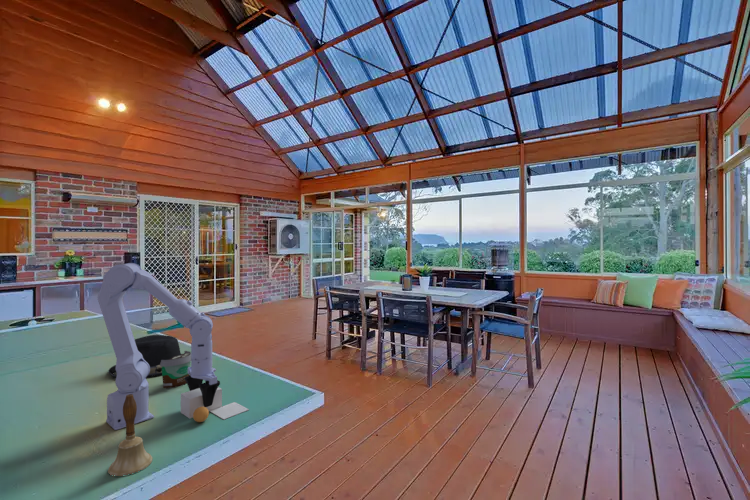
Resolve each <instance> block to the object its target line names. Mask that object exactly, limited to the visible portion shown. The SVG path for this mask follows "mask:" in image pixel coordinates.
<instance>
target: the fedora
mask: <svg viewBox="0 0 750 500" xmlns="http://www.w3.org/2000/svg"><path fill="white" fill-rule="evenodd" d="M134 340H135V343H136V346H137V349H138V351H139V352H140V353H141V354H142V356H143V359H144V360H145V361H146V362H147V363H148V364H149V366H150V372H149V374H148V376H147V377H146V378H151V377H156V376H160V375H162V366H160V363H161V360H169V359H171V358H172V357H174V356H179V355H182V354H183V353H181V350H180V349H181V348H180V345H179V340H178V338H176V337H175V336H171V335H165V334H163V335H162V334H151V335H146V336H142V337H138V338H136V339H135V338H134ZM114 372H115V373H117V372H116V364H115V365H113V366H111V367H110V368H109V369H108V373H109V374H110V376H112V377H113V378H115V379H116V377H117V374H115V373H114ZM113 373H114V374H113Z"/></svg>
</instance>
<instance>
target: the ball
mask: <svg viewBox="0 0 750 500" xmlns="http://www.w3.org/2000/svg"><path fill="white" fill-rule="evenodd" d="M209 414H210V411H208V409H207V408H206V407H199V408H197V409H196V410H195V411H194V413H193V420H194V421H195V422H196V423H203V422H205V421H206V420H207V419H208V418H209Z"/></svg>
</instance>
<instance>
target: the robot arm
mask: <svg viewBox="0 0 750 500" xmlns="http://www.w3.org/2000/svg"><path fill="white" fill-rule="evenodd" d="M102 276H103V277H102V284H101V285H100V289H99V291H98V295H97V301H98V305H99V308H100V311H101V314H102V316H103V321H104V323H105V326H106V330H107V332H108V335H109V339H110V342H111V346H112V348H113V351H114V355H115V359H116V362H115V365H116V372H115V373H116V375H117V377H116V378H115V386H116V387H117V390H115V391H114V392H110V393H109V394H107V399H106V420H105V422H106V423H107V424H108V425H109V426H110V427H111V428H112V429H113V431H119V430H120V429H123V428H126V422H125V419H124V416H123V405H124V402H125V399H126V395H129V394H133V397H134V399H135V401H136V405H137V412H136V417H135V421H134V425H136V424H138V423H142V422H144V421H148V420H151V419H154V418H155V415H154V414H153V413H151V412H150V411H149V396H150V393H149V391H150V390H149V387H150V386H149V382H148V380H147V378H148V377H147V376H148V374H149V372H150V366H149V364H148V363H147V362H146V361H145V360H144V359H143V356H142V354H141V353H140V352H139V351H138V349H137V346H136V343H135V337H134V334H133V330H132V327H131V325H130V321H129V318H128V314H127V312H126V308H125V305H124V302H123V298H124V296H125V295H126V293H127V292H128V291H129V289H136V290H143V291H146V292H148V293H149V295H151V296H153V297H154V298H156V299H157V300H158V301H159V302H160V303H162V304H163V305H164V306H165V307H167V308H168V314H169V316H171V317H172V318H173V319H175V320H176V321H177V322H178V323H179V324H181V325H182V326H183V327H184V328H185V329H189V330H188V331H189V334H190V336H191V343H190V344H191V345H190V347H191V348H190V350H191V351H190V352H191V362H190V367H188V374H189V376H187V377H185V378H184V380H185V381H186V383H187V387H188V391H191V390H195V389H198V388H200V390H201V393H202V397H203V404H204V407H208V406H211V405H212V403H213V399H214V395H215V392H216V390H217V388H218V387H219V386H221V381H220V380H218V376H217V375H216V374H215V372H216V371H217V369H216V368H215V367H213V340H212V339H213V335H212V332H213V327H214V324H213V320H212V318H210V316H209V315H206V314H205V313H204V311H200V310H199V309H197V308H196V307H195V306H194V305H192V304H193V301H191V300H187V299H186V298H179V299H178V298H177V297H176V296H175V295H174V294H173V293H171V291H169V290H168V289H167V288H166V287H165V286H164V285H163V284H161V282H159V280H158V279H156V278H155V277H154V276H153V275H152V274H150V273H149V271H147V270H145V269H143V268H141V266H140V265H139V264H137V263H134V262H128V263H127V262H126V263H124V264H116V265H113V266H111V268H109V270H108V271H106V273H105V274H104V275H102ZM203 381H205V382H203Z"/></svg>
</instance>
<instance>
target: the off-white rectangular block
mask: <svg viewBox="0 0 750 500" xmlns="http://www.w3.org/2000/svg"><path fill="white" fill-rule="evenodd" d="M222 406H223V389H222V388H221V387H219V386H218V388H217V390H216V392H215V395H214V399H213V403H212V405H211V406H208V407H206V408H207V409H208V411H209V412H210V411H211V410H214V409H216V408H219V407H222ZM199 407H204V404H203V397H202V393H201V390H200V388H198V389H195V390H191V391H190V390H188V391H186V392H181V393H180V414H182V415H184V417H187V418H188V419H192V418H193V413H194V411H195V410H196V409H197V408H199ZM193 419H194V418H193Z"/></svg>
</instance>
